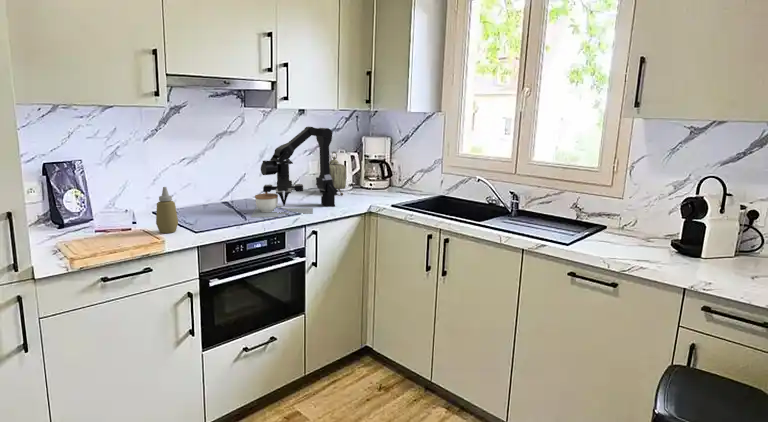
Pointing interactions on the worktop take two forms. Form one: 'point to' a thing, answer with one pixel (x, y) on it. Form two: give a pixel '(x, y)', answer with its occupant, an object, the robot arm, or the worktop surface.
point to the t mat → (274, 214)
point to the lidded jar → (266, 201)
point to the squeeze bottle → (166, 213)
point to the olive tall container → (338, 174)
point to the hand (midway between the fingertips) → (284, 205)
